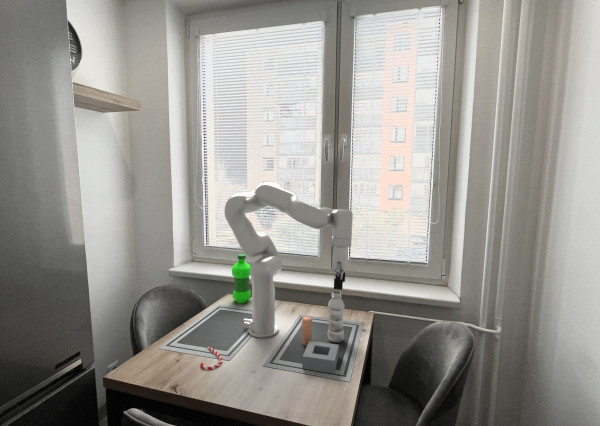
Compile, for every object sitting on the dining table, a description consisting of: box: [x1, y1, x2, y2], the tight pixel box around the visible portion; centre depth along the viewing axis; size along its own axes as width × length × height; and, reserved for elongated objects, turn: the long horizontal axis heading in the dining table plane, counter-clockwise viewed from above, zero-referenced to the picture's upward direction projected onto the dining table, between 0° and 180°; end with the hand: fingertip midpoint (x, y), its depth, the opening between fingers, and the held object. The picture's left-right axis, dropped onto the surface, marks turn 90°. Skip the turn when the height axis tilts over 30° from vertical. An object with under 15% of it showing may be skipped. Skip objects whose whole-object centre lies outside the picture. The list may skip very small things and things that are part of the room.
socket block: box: [301, 340, 340, 374], centre depth 115 cm, size 11×11×4 cm
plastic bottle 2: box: [326, 290, 345, 344], centre depth 130 cm, size 6×7×20 cm
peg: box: [301, 316, 313, 347], centre depth 128 cm, size 4×4×10 cm
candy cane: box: [199, 346, 224, 371], centre depth 116 cm, size 8×1×15 cm
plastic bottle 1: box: [231, 253, 252, 304], centre depth 170 cm, size 10×10×25 cm
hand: (339, 285), depth 125 cm, fingers open, 9 cm apart
